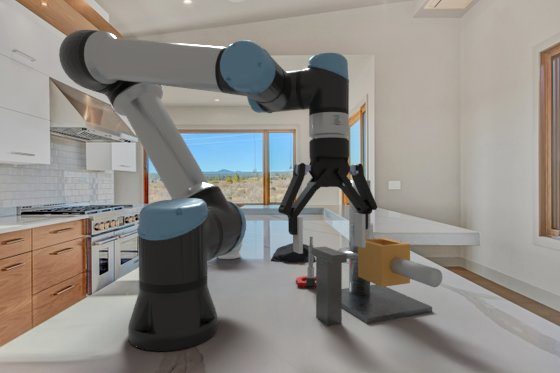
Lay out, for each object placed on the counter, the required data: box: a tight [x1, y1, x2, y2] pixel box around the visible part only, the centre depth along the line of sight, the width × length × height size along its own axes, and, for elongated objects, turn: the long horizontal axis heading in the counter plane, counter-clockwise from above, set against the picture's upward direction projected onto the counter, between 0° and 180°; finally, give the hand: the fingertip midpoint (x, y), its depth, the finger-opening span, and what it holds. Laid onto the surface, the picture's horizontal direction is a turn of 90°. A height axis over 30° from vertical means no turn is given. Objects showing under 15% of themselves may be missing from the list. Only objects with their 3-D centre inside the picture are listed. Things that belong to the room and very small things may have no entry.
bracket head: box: [358, 237, 443, 288], centre depth 68 cm, size 7×18×8 cm, turn 22°
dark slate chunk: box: [270, 242, 316, 264], centre depth 125 cm, size 15×22×5 cm
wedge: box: [312, 246, 348, 327], centre depth 66 cm, size 3×8×14 cm, turn 22°
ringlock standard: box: [337, 179, 433, 324], centre depth 76 cm, size 16×19×27 cm
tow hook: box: [295, 236, 316, 289], centre depth 91 cm, size 8×13×9 cm
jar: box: [216, 240, 243, 260], centre depth 122 cm, size 11×10×15 cm
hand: (330, 249), depth 66 cm, fingers open, 13 cm apart
